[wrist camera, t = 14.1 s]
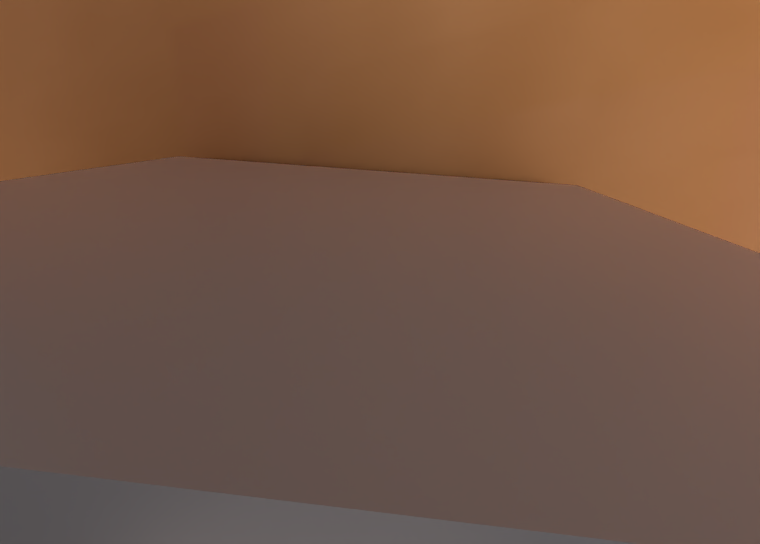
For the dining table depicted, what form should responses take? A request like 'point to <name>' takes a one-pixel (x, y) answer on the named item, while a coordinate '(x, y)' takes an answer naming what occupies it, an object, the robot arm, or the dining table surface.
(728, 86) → the dining table surface
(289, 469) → the gray storage cube
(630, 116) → the dining table surface
